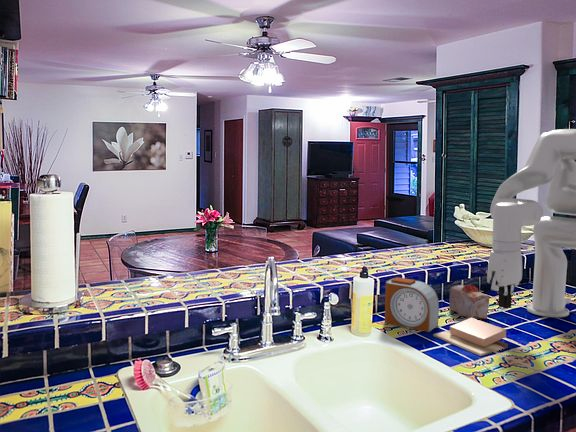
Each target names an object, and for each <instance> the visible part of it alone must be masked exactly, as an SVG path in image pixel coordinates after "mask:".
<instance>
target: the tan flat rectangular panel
mask: <svg viewBox="0 0 576 432" xmlns="http://www.w3.org/2000/svg"><path fill="white" fill-rule="evenodd" d="M432 336H433V337H435V338H438V339H439V340H442V341H444V342H446V343H449V344H452V345H453V346H457V347H459V348H461V349H463V350H465V351H467V352H470V353H472V354H475V355H477V356H480V357H482V356H485V355H489V354H493V353H495V352H500V351H503V350H505V349H504V347H502V346H500V345H497V344H495V343H492V344H489V345H487V346H485V347H483V346H480V345H478V344H475V343H473V342H470V341H468V340H465V339H462V338H460V337H457V336H455V335H452V334H450V329H449V330H445V331H441V332H436V333H433V335H432ZM502 349H503V350H502ZM499 350H500V351H499ZM492 352H493V353H492Z"/></svg>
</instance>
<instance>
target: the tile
mask: <svg viewBox="0 0 576 432" xmlns="http://www.w3.org/2000/svg"><path fill="white" fill-rule="evenodd" d="M449 330H450V334H452V335H455V336H457V337H460V338H462V339H465V340H468V341H470V342H473V343H475V344H478V345H480V346H483V347H485V346H487V345H489V344H492V343H494V342H496V341H501V340H503V339H504V338H507V329H506V328H504V327H500V326H496V325H494V324H493V323H492V324H491V323H488V322H485V321H482V320H481V319H480V320H477V319H474V318H467V319H464V320H462V321H460V322H457V323H455V324H452V325H450V326H449Z"/></svg>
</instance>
